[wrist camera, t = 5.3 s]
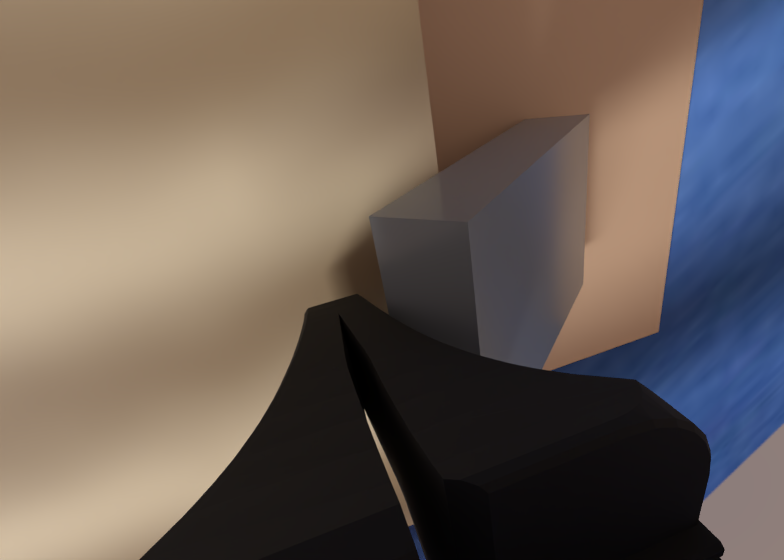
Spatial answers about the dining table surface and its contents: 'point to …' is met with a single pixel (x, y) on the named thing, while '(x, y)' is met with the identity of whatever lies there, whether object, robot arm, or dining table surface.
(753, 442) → the dining table surface
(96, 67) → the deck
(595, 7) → the mat
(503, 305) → the thin grey panel
